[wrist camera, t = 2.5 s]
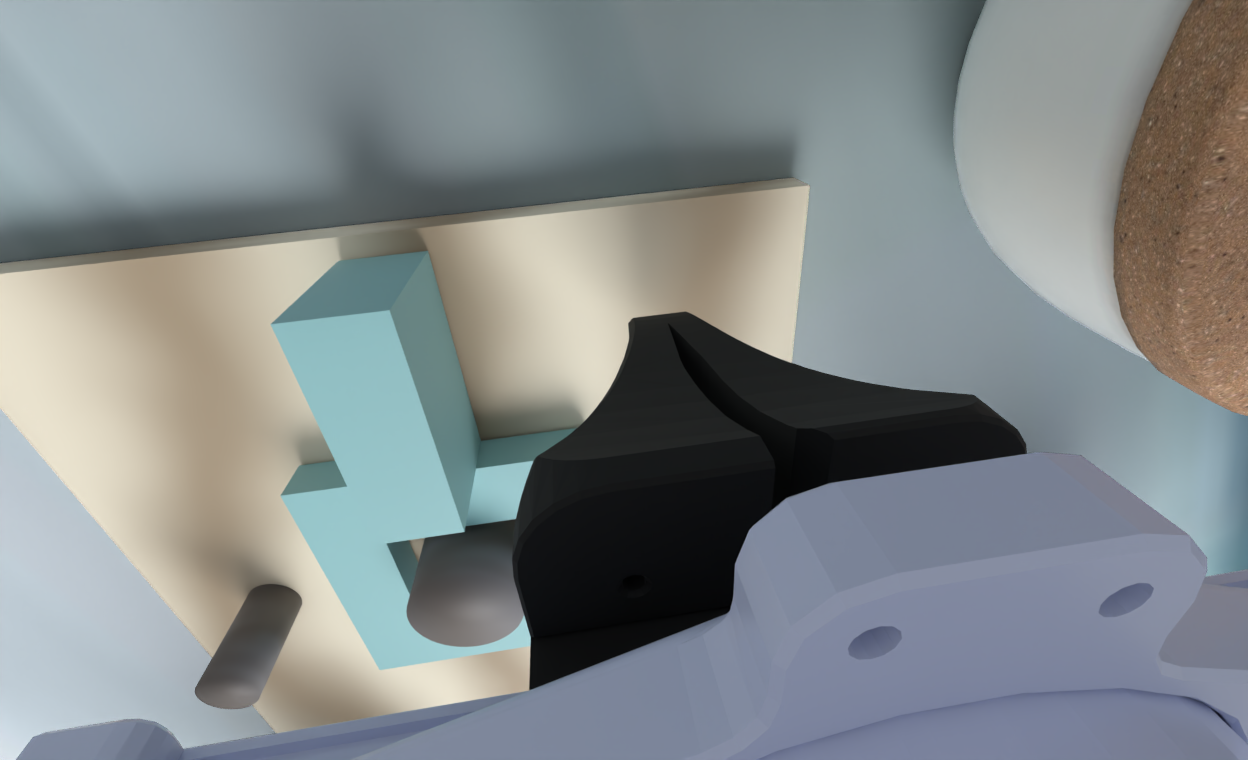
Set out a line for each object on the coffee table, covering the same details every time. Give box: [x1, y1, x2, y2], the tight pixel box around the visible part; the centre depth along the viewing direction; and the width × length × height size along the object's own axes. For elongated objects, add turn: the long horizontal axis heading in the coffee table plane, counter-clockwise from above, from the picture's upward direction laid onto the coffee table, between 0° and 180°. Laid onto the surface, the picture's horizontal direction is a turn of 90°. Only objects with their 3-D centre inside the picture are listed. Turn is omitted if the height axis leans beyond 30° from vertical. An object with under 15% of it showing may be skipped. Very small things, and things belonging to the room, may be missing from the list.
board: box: [0, 178, 810, 733], centre depth 16 cm, size 20×20×4 cm
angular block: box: [270, 251, 576, 670], centre depth 14 cm, size 14×8×3 cm, turn 5°
